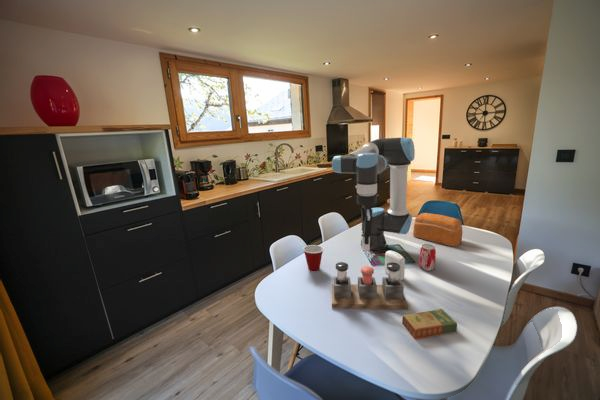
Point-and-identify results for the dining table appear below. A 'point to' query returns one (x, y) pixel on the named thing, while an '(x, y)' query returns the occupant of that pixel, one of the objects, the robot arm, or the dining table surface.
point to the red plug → (367, 275)
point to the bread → (438, 229)
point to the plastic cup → (313, 256)
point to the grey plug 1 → (342, 272)
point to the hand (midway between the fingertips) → (366, 250)
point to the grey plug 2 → (393, 273)
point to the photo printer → (395, 258)
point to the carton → (429, 324)
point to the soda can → (427, 257)
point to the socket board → (368, 295)
